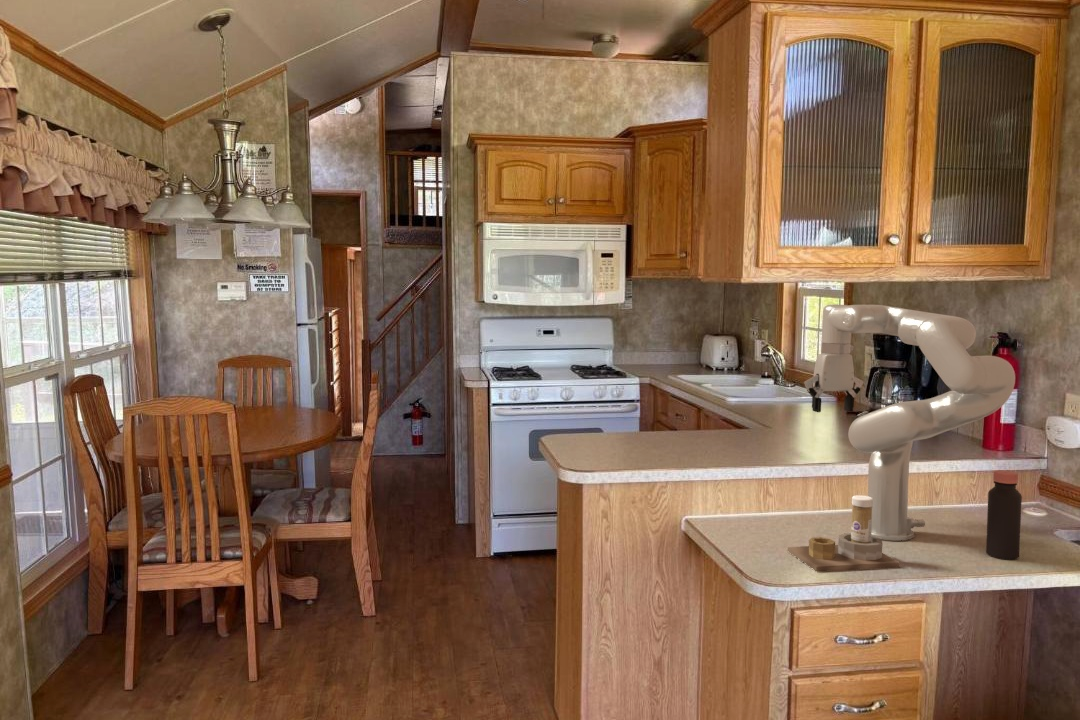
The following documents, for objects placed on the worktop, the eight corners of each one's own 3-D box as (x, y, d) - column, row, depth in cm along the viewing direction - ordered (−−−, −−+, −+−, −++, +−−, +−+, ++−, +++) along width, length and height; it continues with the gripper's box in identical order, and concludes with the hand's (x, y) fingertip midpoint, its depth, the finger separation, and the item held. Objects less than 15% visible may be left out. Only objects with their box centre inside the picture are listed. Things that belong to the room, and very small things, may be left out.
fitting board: (864, 548, 188) (865, 529, 187) (899, 567, 174) (899, 547, 174) (787, 552, 185) (787, 532, 185) (816, 571, 171) (816, 551, 171)
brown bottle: (980, 551, 185) (983, 469, 184) (1008, 551, 185) (1011, 469, 184) (995, 560, 178) (999, 475, 177) (1025, 560, 178) (1029, 475, 177)
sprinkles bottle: (847, 553, 180) (849, 497, 179) (854, 549, 183) (855, 493, 182) (867, 557, 177) (869, 500, 176) (874, 552, 180) (875, 496, 179)
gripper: (855, 348, 216) (852, 408, 218) (799, 348, 213) (796, 409, 214) (872, 350, 209) (868, 413, 210) (814, 351, 205) (811, 414, 207)
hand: (832, 411), depth 212 cm, fingers open, 9 cm apart
